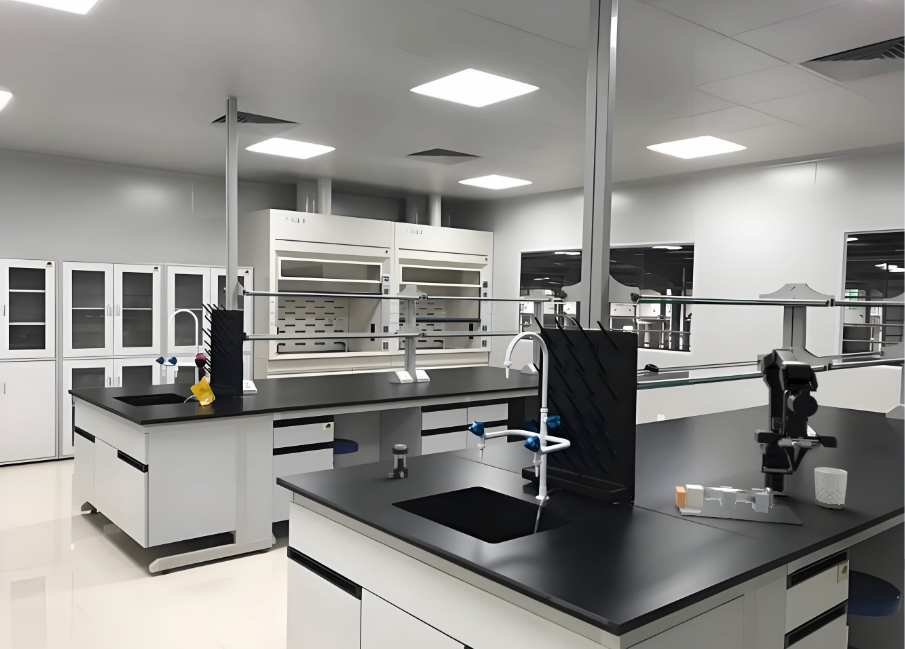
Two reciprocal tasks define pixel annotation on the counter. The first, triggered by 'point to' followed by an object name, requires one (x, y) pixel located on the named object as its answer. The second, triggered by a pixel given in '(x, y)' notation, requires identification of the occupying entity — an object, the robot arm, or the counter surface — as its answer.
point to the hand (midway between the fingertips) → (793, 471)
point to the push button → (399, 461)
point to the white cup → (830, 485)
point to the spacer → (694, 496)
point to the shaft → (737, 494)
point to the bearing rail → (723, 501)
